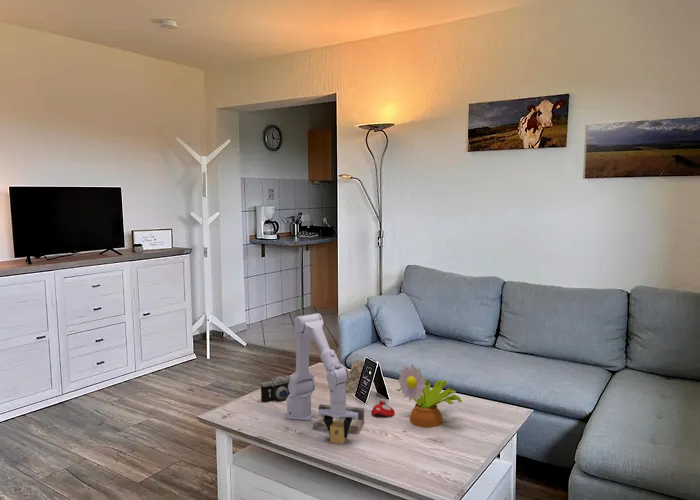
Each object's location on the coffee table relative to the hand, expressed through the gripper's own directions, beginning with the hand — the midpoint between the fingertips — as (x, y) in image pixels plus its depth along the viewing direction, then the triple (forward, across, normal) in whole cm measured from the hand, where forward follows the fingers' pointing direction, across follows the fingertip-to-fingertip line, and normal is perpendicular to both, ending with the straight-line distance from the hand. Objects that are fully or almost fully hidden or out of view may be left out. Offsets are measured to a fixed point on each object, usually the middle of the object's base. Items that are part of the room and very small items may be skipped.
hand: (338, 436), depth 189 cm
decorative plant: (+2, +31, +24) cm, 39 cm away
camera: (+2, -36, +31) cm, 48 cm away
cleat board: (+1, -3, +11) cm, 11 cm away
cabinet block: (+1, 0, 0) cm, 1 cm away
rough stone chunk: (+2, -9, +53) cm, 54 cm away
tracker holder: (+2, +12, +28) cm, 31 cm away
